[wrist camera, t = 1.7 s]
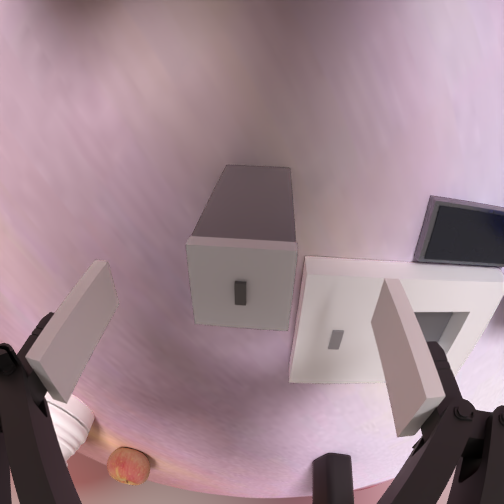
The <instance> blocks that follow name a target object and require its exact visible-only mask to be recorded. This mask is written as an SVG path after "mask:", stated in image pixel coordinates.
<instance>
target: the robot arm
mask: <svg viewBox="0 0 504 504" xmlns="http://www.w3.org/2000/svg"><path fill="white" fill-rule="evenodd" d="M118 306H119V301H118V297H117V293H116V290H115V286H114V282H113V278H112V274H111V270H110V266H109V262H108V261H105V260H95V261H94V262H93V263H92V264H91V266H90V267H89V268H88V269H87V271H86V272H85V273H84V275H83V276H82V277H81V278H80V280H79V281H78V282H77V284H76V285H75V286H74V288H73V289H72V290H71V292H70V293H69V294H68V296H67V297H66V298H65V300H64V301H63V302H62V304H61V305H60V306H59V308H58V309H57V311H56V312H55V313H52V312H50V313H49V314H47V315H46V316H45V317H44V318H42V319H41V321H40V322H39V324H38V325H37V326H36V329H34V331H33V332H32V335H30V336H29V338H28V339H27V341H26V342H25V344H24V345H23V347H22V348H21V350H20V351H19V353H18V354H17V355H16V353H15V352H14V350H13V348H12V346H10V345H9V344H6V343H2V344H0V504H12V502H11V487H10V469H11V473H12V477H13V481H14V485H15V488H16V492H17V495H18V499H19V502H20V504H82V503H81V501H80V499H79V496H78V494H77V492H76V489H75V487H74V484H73V482H72V479H71V476H70V474H69V471H68V468H67V466H66V463H65V460H64V457H63V454H62V451H61V448H60V445H59V442H58V439H57V436H56V432H55V429H54V425H53V422H52V418H51V415H50V411H49V407H48V403H47V400H46V398H45V395H46V393H47V391H48V393H49V394H50V396H51V397H52V398H53V399H54V400H57V401H60V402H63V403H66V404H67V403H68V400H69V398H70V396H71V394H72V392H73V390H74V388H75V386H76V384H77V382H78V380H79V378H80V376H81V374H82V372H83V370H84V368H85V366H86V364H87V362H88V361H89V359H90V357H91V355H92V353H93V351H94V349H95V347H96V345H97V344H98V342H99V340H100V338H101V336H102V334H103V332H104V331H105V329H106V327H107V325H108V323H109V322H110V320H111V318H112V316H113V315H114V313H115V311H116V309H117V308H118ZM371 325H372V329H373V333H374V336H375V340H376V344H377V348H378V352H379V356H380V360H381V364H382V368H383V372H384V376H385V381H386V385H387V389H388V394H389V399H390V403H391V408H392V413H393V418H394V423H395V428H396V433H397V437H404V436H412V435H415V434H416V433H417V432H418V430H419V429H420V428H421V431H422V435H423V436H422V437H421V438H420V439H419V440H418V441H417V443H416V444H415V445H414V446H413V447H412V448H414V449H413V451H412V453H411V454H410V456H409V458H408V459H407V461H406V462H405V464H404V465H403V467H402V468H401V470H400V471H399V473H398V474H397V476H396V477H395V479H394V480H393V482H392V483H391V485H390V486H389V488H388V489H387V490H386V492H385V493H384V494H383V496H382V497H381V498H380V500H379V501H378V503H377V504H436V503H437V501H438V499H439V498H440V496H441V494H442V492H443V490H444V489H445V487H446V485H447V483H448V481H449V479H450V477H451V475H452V473H453V471H454V469H455V467H456V470H455V474H454V479H453V483H452V487H451V490H450V494H449V498H448V501H447V504H504V406H502V405H501V406H499V407H497V408H496V409H495V410H494V411H493V412H485V411H479V410H475V408H474V406H473V405H472V404H471V403H470V402H469V401H468V400H465V399H463V398H462V396H461V393H460V391H459V388H458V385H457V382H456V380H455V377H454V374H453V372H452V369H451V367H450V364H449V362H448V361H447V360H448V359H447V357H446V354H445V352H444V350H443V349H442V347H441V346H440V345H439V344H438V343H437V342H436V341H429V342H426V340H425V338H424V335H423V333H422V330H421V328H420V326H419V323H418V321H417V318H416V316H415V314H414V311H413V309H412V307H411V304H410V302H409V300H408V297H407V295H406V293H405V291H404V288H403V286H402V284H401V282H400V280H399V279H389V278H384V282H383V285H382V288H381V292H380V295H379V298H378V301H377V304H376V307H375V311H374V314H373V317H372V320H371ZM456 465H457V466H456Z"/></svg>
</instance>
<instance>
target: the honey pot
mask: <svg viewBox="0 0 504 504" xmlns="http://www.w3.org/2000/svg"><path fill="white" fill-rule="evenodd" d="M45 398H46V400H47V403H48V407H49V411H50V415H51V418H52V422H53V425H54V429H55V432H56V436H57V439H58V442H59V445H60V448H61V451H62V454H63V457H64V460H65V463H66V466H68V464H67V462H66V461H67V460H68V459H69V457H71V455H74V454H75V451H76V450H78V449H79V447H80V445H82V444H84V443H85V441H86V439H87V436H88V433H89V431H90V429H91V426H92V424H93V421H94V419H95V417H94V414H93V412H92V411H91V409H90V408H89V407H88V406H87V405H86V404H85V403H84V402H82V401H81V400H80V399H79V398H77V397H76V396H74V395H73V394H71V396H70V398H69V400H68V403H67V404H66V403H63V402H60V401H57V400H54V399H53V398H52V397H51V396H50V394H49V393H48V391H47V393H46V395H45Z"/></svg>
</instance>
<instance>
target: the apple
mask: <svg viewBox="0 0 504 504" xmlns="http://www.w3.org/2000/svg"><path fill="white" fill-rule="evenodd" d="M107 469H108V472H109V474H110V476H111V477H112V478H113V479H115V480H117V481H119V482H121V483H125V484H130V485H140V484H142V483H144V482H145V481H146V480H147V478H148V476H149V473H150V463H149V461H148V459H147V457H146V456H145V455H144V454H143V453H141V452H139V451H137V450H134V449H129V448H119V449H116V450H115V451H114V452H113V453H112V454H111V455H110V457H109V459H108V462H107Z"/></svg>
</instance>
